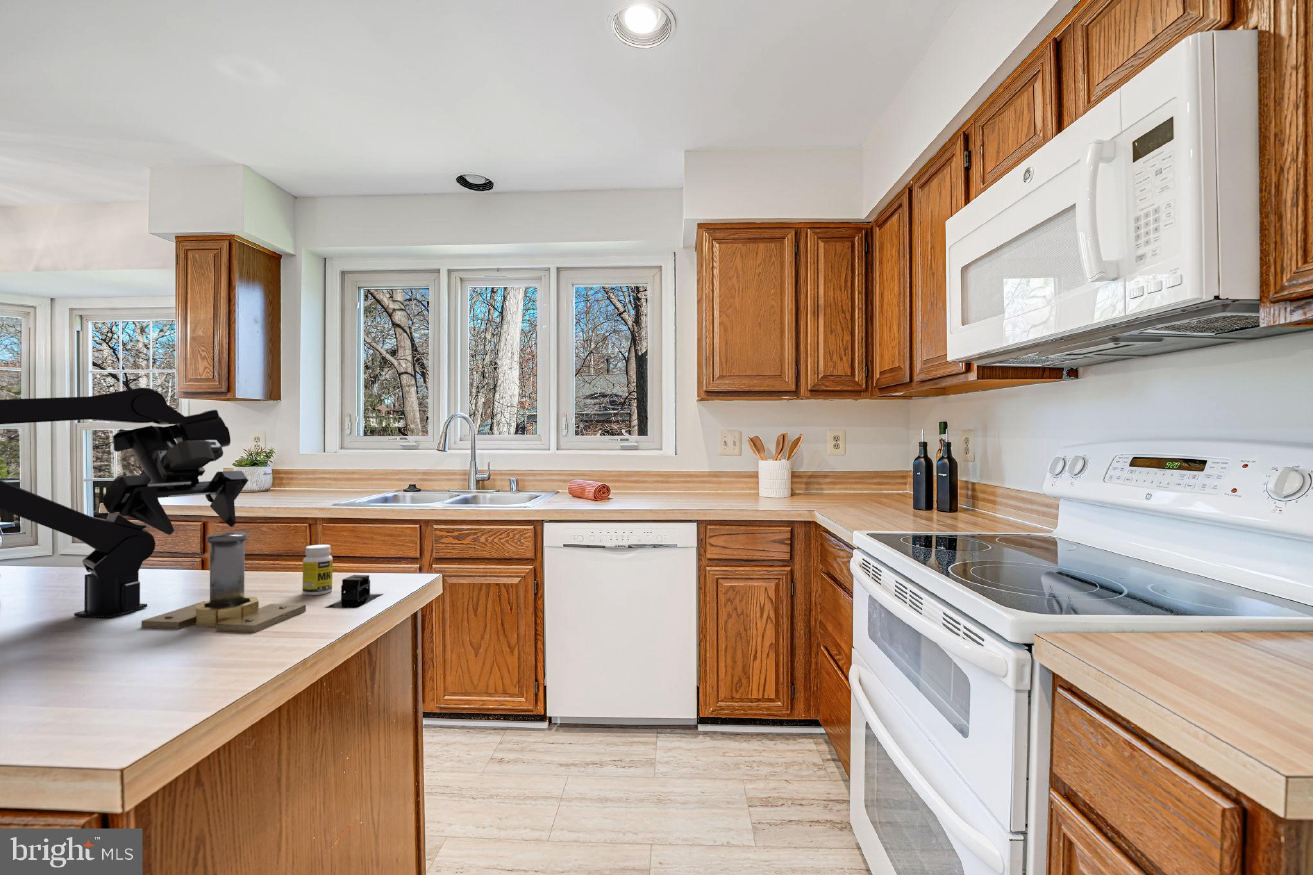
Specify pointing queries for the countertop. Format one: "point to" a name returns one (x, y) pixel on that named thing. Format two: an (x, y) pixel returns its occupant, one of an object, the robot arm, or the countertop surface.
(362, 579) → the black notched mount
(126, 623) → the countertop surface
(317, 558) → the supplement bottle
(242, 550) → the hinge pin
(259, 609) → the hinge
